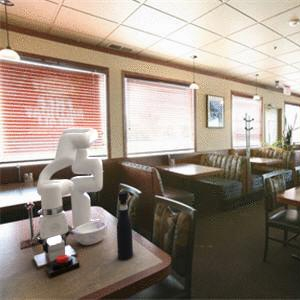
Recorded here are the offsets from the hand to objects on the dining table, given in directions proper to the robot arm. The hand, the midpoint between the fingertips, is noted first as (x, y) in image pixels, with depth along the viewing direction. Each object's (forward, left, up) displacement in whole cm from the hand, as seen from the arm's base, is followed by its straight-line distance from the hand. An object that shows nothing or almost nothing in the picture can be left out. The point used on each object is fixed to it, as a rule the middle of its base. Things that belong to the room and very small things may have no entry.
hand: (54, 249), depth 106 cm
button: (0, +13, -1) cm, 13 cm away
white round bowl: (-17, -6, -4) cm, 19 cm away
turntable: (0, 0, -4) cm, 4 cm away
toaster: (0, 0, -3) cm, 3 cm away
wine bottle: (-22, +23, -4) cm, 32 cm away
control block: (0, +13, -4) cm, 14 cm away
